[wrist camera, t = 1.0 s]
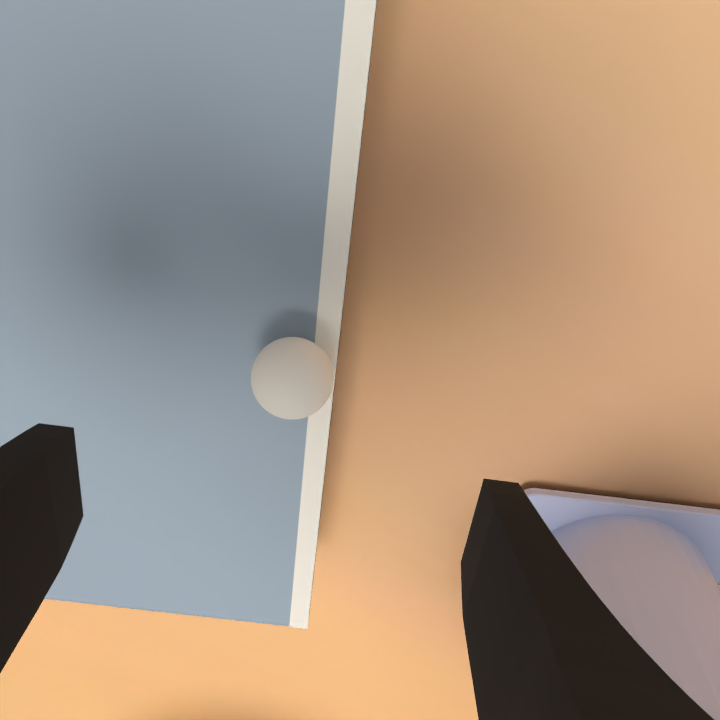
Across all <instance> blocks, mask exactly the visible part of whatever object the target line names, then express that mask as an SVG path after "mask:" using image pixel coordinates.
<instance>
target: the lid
mask: <svg viewBox="0 0 720 720" xmlns="http://www.w3.org/2000/svg"><path fill="white" fill-rule="evenodd" d="M376 4H377V0H0V447H1V446H2V445H4V444H5V443H7V442H9V441H10V440H12V439H13V438H15V437H17V436H18V435H20V434H21V433H23V432H25V431H26V430H28V429H30V428H31V427H33V426H35V425H36V424H38V423H42V424H50V425H58V426H66V427H74V434H75V443H76V452H77V461H78V470H79V479H80V488H81V498H82V507H83V518H82V521H81V523H80V526H79V528H78V531H77V533H76V536H75V538H74V541H73V543H72V545H71V548H70V550H69V552H68V555H67V557H66V559H65V561H64V564H63V566H62V568H61V570H60V572H59V573H58V575H57V577H56V579H55V581H54V582H53V584H52V586H51V587H50V589H49V591H48V593H47V594H46V596H45V598H44V599H51V600H60V601H69V602H78V603H87V604H95V605H104V606H113V607H122V608H131V609H140V610H149V611H158V612H166V613H175V614H184V615H193V616H202V617H211V618H220V619H229V620H237V621H246V622H255V623H264V624H273V625H282V626H289V627H295V628H304V629H307V628H308V620H309V613H310V604H311V594H312V585H313V576H314V567H315V558H316V549H317V540H318V531H319V522H320V513H321V504H322V495H323V485H324V476H325V467H326V458H327V449H328V440H329V431H330V422H331V413H332V404H333V395H334V386H335V377H336V367H337V358H338V349H339V340H340V331H341V322H342V313H343V304H344V295H345V286H346V277H347V268H348V258H349V249H350V240H351V231H352V222H353V213H354V204H355V195H356V186H357V177H358V168H359V159H360V150H361V140H362V131H363V122H364V113H365V104H366V95H367V86H368V77H369V68H370V59H371V50H372V41H373V32H374V22H375V13H376Z"/></svg>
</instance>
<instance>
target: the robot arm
mask: <svg viewBox="0 0 720 720" xmlns="http://www.w3.org/2000/svg"><path fill="white" fill-rule="evenodd" d="M82 518H83V507H82V498H81V488H80V479H79V470H78V461H77V452H76V443H75V434H74V427H66V426H58V425H50V424H42V423H38V424H36V425H35V426H33V427H31V428H30V429H28V430H26V431H25V432H23V433H21V434H20V435H18V436H17V437H15V438H13V439H12V440H10V441H9V442H7V443H5V444H4V445H2V446H1V447H0V673H1V671H2V669H3V667H4V666H5V664H6V662H7V661H8V659H9V657H10V656H11V654H12V652H13V651H14V649H15V647H16V645H17V644H18V642H19V640H20V639H21V637H22V635H23V634H24V632H25V630H26V629H27V627H28V625H29V623H30V622H31V620H32V618H33V617H34V615H35V613H36V612H37V610H38V608H39V606H40V605H41V603H42V601H43V600H44V598H45V596H46V594H47V593H48V591H49V589H50V587H51V586H52V584H53V582H54V581H55V579H56V577H57V575H58V573H59V572H60V570H61V568H62V566H63V564H64V561H65V559H66V557H67V555H68V552H69V550H70V548H71V545H72V543H73V541H74V538H75V536H76V533H77V531H78V528H79V526H80V523H81V521H82ZM461 581H462V608H463V621H464V628H465V635H466V641H467V648H468V654H469V661H470V667H471V674H472V680H473V686H474V693H475V699H476V705H477V712H478V718H479V720H720V588H719V586H718V584H719V582H720V509H711V508H703V507H694V506H686V505H677V504H669V503H660V502H651V501H643V500H634V499H626V498H617V497H609V496H600V495H592V494H583V493H574V492H566V491H557V490H549V489H540V488H528V489H526V490H523V489H522V488H521V486H520V485H519V484H518V483H514V482H506V481H498V480H490V479H484V480H483V484H482V487H481V491H480V495H479V498H478V502H477V506H476V509H475V513H474V517H473V520H472V524H471V527H470V531H469V535H468V538H467V542H466V546H465V549H464V553H463V557H462V560H461Z"/></svg>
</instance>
